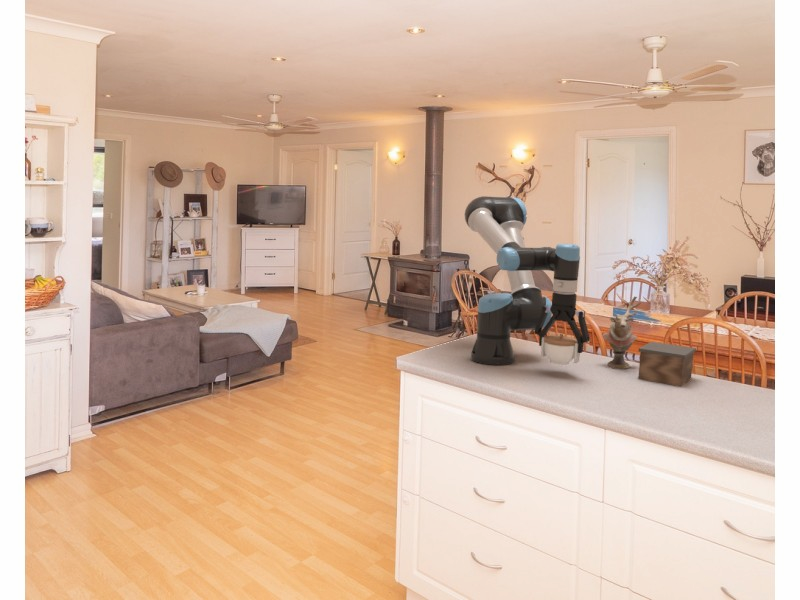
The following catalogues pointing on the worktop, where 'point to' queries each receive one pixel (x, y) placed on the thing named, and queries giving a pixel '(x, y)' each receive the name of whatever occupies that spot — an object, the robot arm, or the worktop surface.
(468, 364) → the worktop surface
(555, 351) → the lidded jar
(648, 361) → the block
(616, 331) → the decorative bust
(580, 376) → the worktop surface
